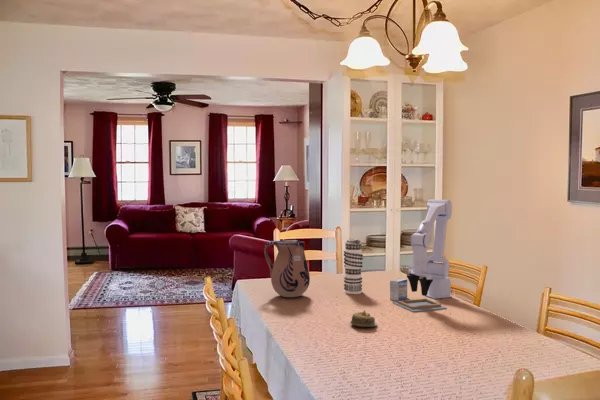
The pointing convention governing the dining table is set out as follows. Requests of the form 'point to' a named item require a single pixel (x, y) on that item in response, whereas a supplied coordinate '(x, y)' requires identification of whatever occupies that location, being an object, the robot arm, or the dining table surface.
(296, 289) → the ceramic pitcher
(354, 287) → the decorative candle
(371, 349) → the dining table surface
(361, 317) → the cake
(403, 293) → the medicine box
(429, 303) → the board
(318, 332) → the dining table surface
